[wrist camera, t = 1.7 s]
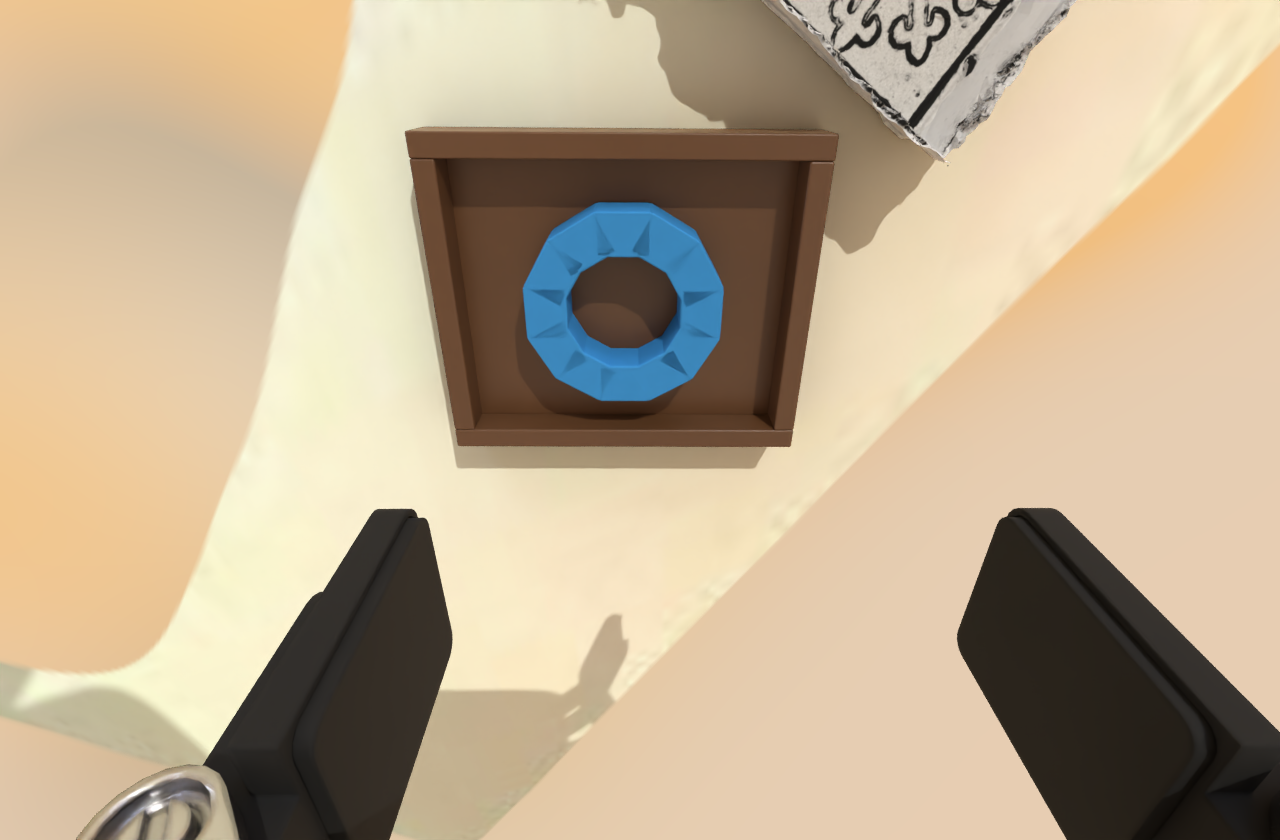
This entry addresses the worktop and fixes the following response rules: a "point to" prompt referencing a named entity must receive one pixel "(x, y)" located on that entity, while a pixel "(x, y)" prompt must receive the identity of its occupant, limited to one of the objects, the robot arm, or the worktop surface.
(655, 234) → the ring
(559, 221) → the tray
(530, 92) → the worktop surface
